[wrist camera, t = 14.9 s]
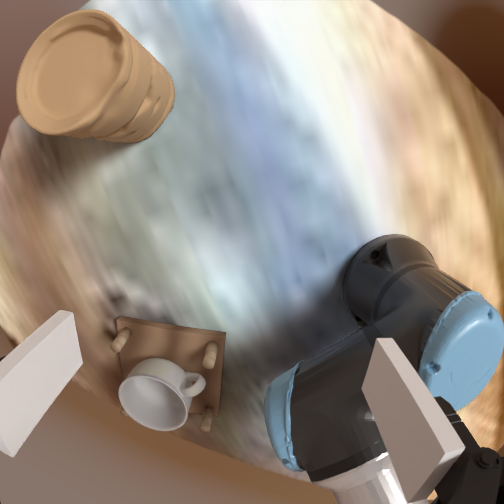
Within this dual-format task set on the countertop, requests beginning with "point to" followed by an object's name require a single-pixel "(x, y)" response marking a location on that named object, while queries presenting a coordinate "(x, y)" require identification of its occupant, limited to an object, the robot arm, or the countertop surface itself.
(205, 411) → the rack
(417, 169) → the countertop surface
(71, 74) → the container
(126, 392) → the teacup
